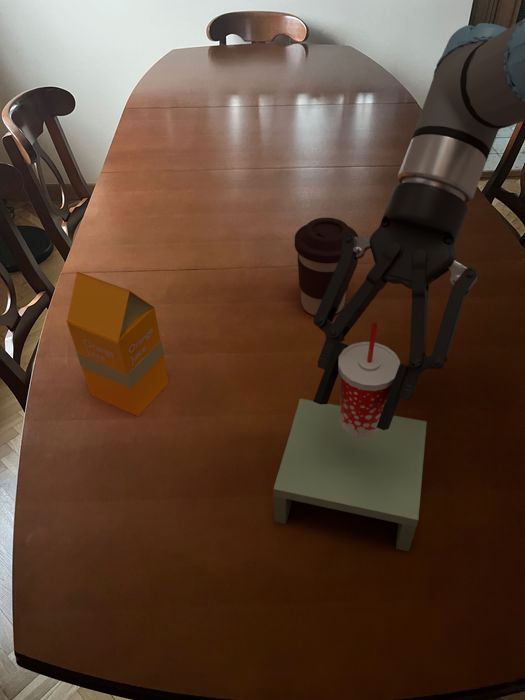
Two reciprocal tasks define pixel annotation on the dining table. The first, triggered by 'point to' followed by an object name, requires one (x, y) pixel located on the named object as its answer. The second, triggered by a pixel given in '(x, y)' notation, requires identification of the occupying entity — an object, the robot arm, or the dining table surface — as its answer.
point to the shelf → (353, 468)
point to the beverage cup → (365, 384)
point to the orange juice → (117, 344)
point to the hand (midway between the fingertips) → (350, 414)
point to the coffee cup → (319, 258)
